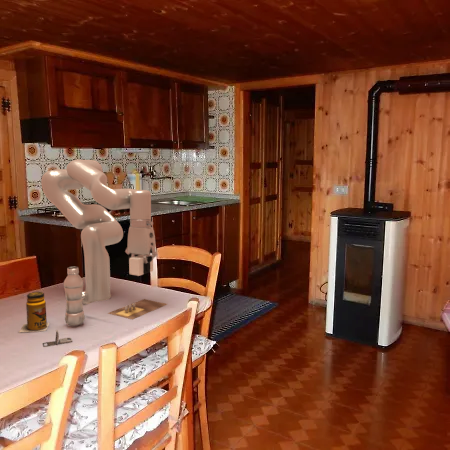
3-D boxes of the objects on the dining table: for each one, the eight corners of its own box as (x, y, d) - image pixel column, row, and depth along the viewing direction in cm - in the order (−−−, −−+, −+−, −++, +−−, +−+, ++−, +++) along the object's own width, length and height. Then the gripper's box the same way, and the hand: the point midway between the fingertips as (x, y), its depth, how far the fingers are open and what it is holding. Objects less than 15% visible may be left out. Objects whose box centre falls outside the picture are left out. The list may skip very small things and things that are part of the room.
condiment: (46, 331, 145) (44, 296, 144) (18, 333, 143) (16, 297, 142) (49, 323, 152) (48, 289, 151) (23, 325, 150) (21, 291, 149)
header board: (132, 323, 153) (132, 312, 152) (107, 317, 159) (107, 306, 158) (168, 307, 170) (168, 297, 169) (144, 302, 176) (144, 292, 175)
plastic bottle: (66, 329, 147) (64, 271, 144) (63, 323, 152) (61, 266, 150) (86, 326, 150) (84, 269, 147) (83, 320, 155) (81, 265, 153)
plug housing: (138, 275, 159) (138, 259, 158) (129, 274, 161) (129, 258, 160) (153, 270, 166) (152, 255, 166) (143, 269, 168) (143, 254, 168)
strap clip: (71, 339, 139) (71, 326, 138) (72, 343, 136) (72, 330, 136) (42, 344, 135) (41, 331, 135) (43, 348, 132) (42, 334, 132)
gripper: (165, 224, 160) (165, 272, 163) (129, 220, 168) (130, 267, 171) (152, 226, 154) (153, 277, 156) (116, 223, 162) (117, 271, 164)
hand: (141, 271), depth 164 cm, fingers closed on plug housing, 4 cm apart
